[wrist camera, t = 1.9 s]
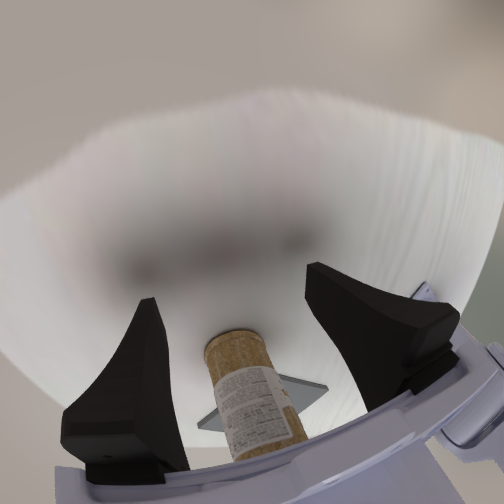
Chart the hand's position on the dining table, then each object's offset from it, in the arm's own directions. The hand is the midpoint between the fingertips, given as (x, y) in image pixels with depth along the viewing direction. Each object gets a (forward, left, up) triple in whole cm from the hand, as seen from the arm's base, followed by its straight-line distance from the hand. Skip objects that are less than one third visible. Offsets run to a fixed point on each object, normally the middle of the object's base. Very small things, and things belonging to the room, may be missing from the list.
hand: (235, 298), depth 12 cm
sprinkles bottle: (-5, +5, -4) cm, 8 cm away
